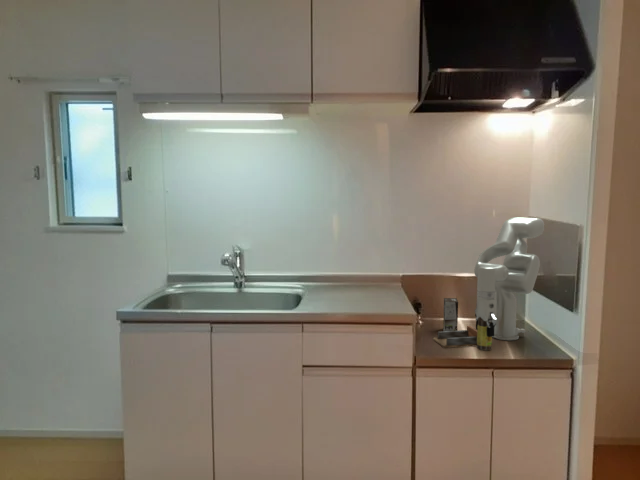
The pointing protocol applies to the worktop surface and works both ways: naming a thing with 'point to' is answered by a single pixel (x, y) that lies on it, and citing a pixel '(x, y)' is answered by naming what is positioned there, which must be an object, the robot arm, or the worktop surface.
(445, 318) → the coffee box
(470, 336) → the channel
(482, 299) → the robot arm
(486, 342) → the sauce bottle
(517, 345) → the worktop surface
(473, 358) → the worktop surface
